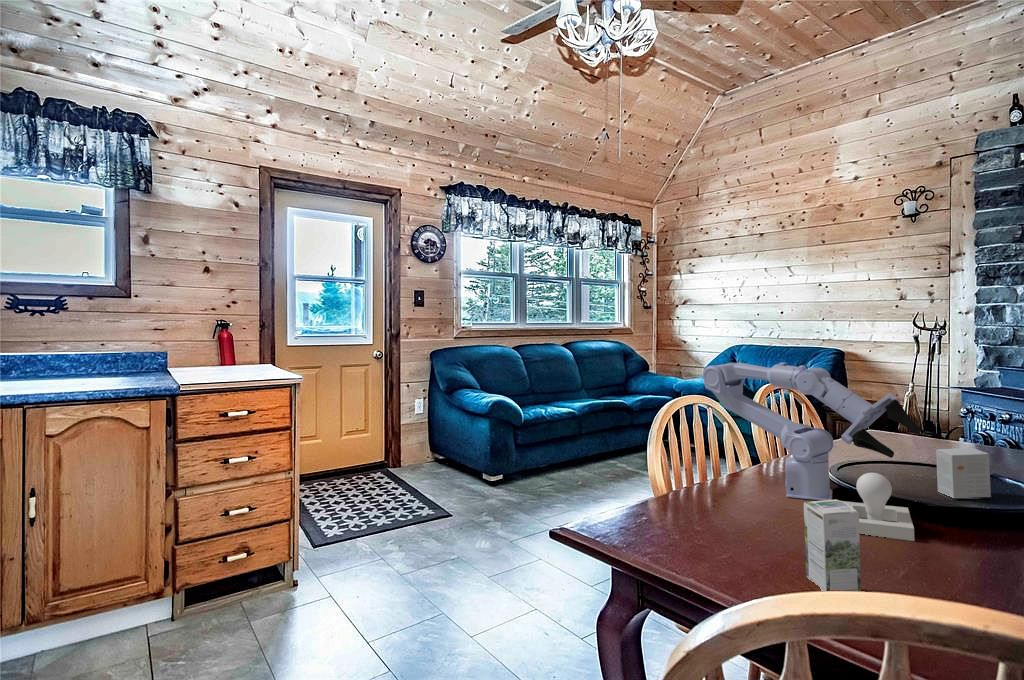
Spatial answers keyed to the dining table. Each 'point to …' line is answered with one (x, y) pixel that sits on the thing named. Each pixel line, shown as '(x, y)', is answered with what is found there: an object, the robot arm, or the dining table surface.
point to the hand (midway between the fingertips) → (906, 443)
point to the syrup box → (832, 545)
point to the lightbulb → (874, 494)
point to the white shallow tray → (884, 528)
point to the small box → (963, 472)
